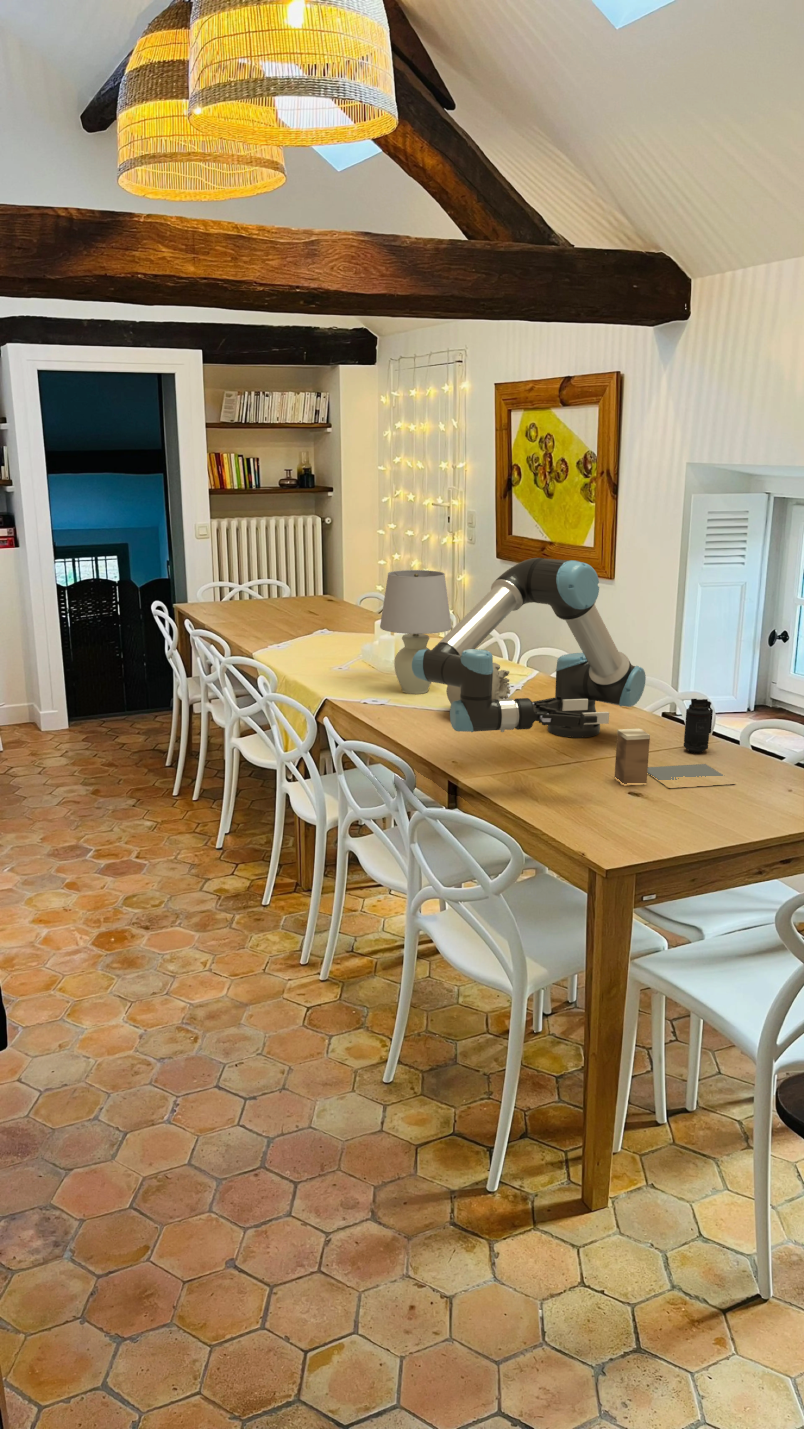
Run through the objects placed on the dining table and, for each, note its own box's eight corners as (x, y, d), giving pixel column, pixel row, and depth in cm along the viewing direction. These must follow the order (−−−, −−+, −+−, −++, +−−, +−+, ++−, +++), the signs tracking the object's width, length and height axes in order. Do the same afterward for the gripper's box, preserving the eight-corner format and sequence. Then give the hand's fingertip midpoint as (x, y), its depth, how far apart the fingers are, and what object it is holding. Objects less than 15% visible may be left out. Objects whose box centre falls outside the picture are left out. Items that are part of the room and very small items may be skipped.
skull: (511, 640, 330) (447, 639, 332) (511, 685, 310) (444, 684, 312) (510, 694, 342) (449, 693, 344) (510, 741, 322) (445, 740, 324)
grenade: (690, 755, 290) (695, 702, 286) (678, 749, 296) (682, 696, 292) (714, 753, 292) (718, 700, 288) (701, 747, 298) (705, 695, 294)
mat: (641, 769, 277) (641, 767, 277) (705, 766, 281) (705, 763, 280) (668, 789, 262) (668, 786, 262) (735, 784, 265) (735, 782, 265)
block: (614, 779, 269) (617, 729, 266) (636, 777, 271) (639, 728, 267) (623, 786, 264) (627, 736, 260) (646, 785, 265) (650, 734, 262)
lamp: (371, 685, 369) (371, 570, 359) (436, 681, 376) (438, 568, 366) (391, 701, 347) (392, 579, 337) (460, 697, 354) (463, 576, 344)
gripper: (498, 716, 269) (578, 713, 273) (530, 743, 245) (616, 739, 249) (499, 687, 267) (579, 684, 271) (531, 711, 243) (618, 708, 248)
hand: (597, 710), depth 260 cm, fingers open, 13 cm apart
